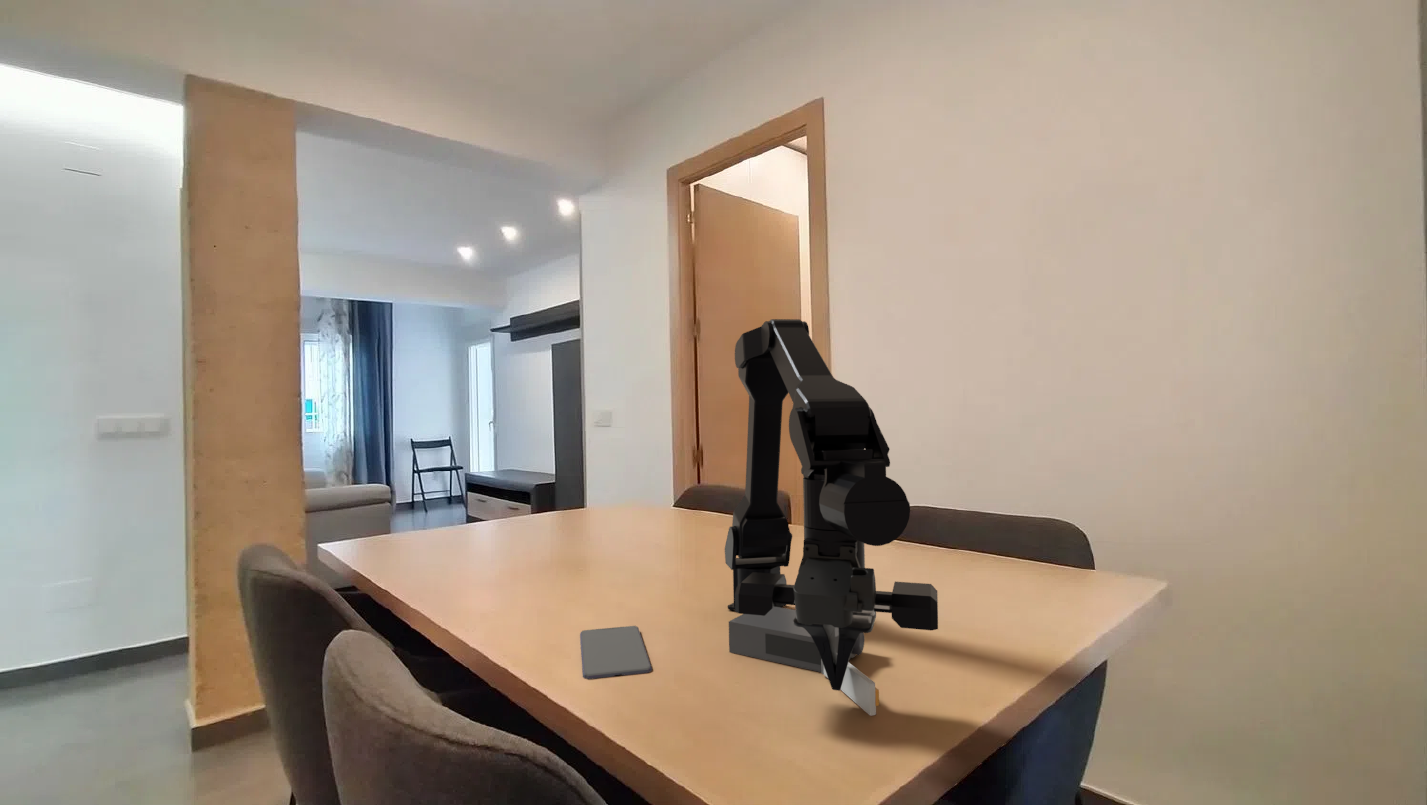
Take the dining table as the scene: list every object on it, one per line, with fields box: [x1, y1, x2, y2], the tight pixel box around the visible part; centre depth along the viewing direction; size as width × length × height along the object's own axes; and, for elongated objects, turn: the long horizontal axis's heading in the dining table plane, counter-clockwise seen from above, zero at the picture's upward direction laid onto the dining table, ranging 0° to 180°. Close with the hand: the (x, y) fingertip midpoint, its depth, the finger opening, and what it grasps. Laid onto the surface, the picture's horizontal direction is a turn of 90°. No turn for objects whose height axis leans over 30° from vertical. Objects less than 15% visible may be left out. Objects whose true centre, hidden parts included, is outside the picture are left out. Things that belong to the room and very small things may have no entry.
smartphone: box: [579, 625, 653, 680], centre depth 77 cm, size 8×1×15 cm
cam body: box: [728, 607, 865, 673], centre depth 76 cm, size 14×8×4 cm, turn 56°
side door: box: [820, 659, 880, 717], centre depth 64 cm, size 11×1×3 cm, turn 15°
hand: (836, 688), depth 62 cm, fingers closed
